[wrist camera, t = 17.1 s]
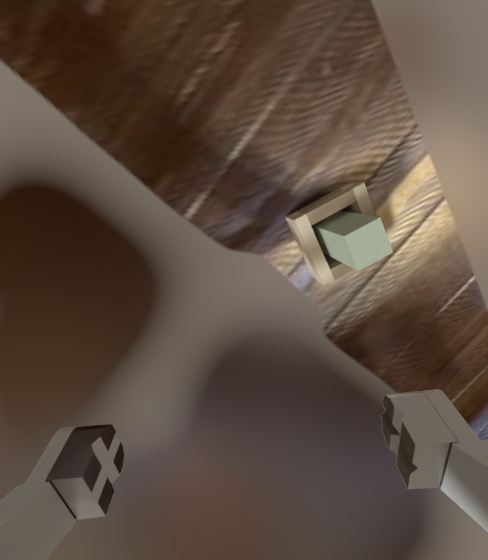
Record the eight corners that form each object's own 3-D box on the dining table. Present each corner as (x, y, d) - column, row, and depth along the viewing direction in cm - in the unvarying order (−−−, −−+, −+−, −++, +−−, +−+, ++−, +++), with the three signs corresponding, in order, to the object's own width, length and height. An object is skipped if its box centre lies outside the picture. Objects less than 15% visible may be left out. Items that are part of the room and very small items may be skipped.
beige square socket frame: (285, 217, 39) (294, 220, 35) (348, 183, 39) (364, 182, 35) (312, 277, 42) (323, 285, 38) (371, 245, 42) (388, 251, 38)
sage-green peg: (310, 225, 40) (344, 236, 31) (337, 210, 40) (380, 217, 30) (321, 251, 41) (358, 270, 32) (348, 237, 41) (392, 252, 32)
